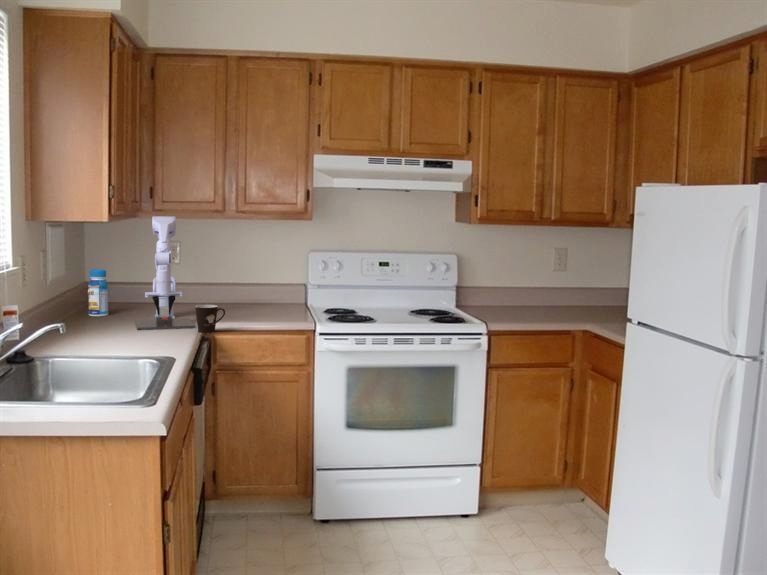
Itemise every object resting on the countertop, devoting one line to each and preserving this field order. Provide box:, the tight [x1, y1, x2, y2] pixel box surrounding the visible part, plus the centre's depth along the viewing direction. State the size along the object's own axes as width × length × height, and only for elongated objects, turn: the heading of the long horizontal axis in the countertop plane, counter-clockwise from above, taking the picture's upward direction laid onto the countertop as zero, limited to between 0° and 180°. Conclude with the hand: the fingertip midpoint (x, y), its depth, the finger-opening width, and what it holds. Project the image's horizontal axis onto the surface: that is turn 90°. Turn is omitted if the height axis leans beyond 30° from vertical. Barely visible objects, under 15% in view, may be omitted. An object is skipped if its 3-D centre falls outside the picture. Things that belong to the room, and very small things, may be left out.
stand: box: [133, 315, 196, 331], centre depth 306 cm, size 22×22×4 cm
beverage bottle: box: [87, 268, 109, 317], centre depth 327 cm, size 8×8×20 cm
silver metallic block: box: [159, 306, 169, 317], centre depth 306 cm, size 4×4×6 cm
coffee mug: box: [194, 304, 226, 334], centre depth 293 cm, size 12×9×10 cm
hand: (163, 314), depth 306 cm, fingers closed on silver metallic block, 4 cm apart
